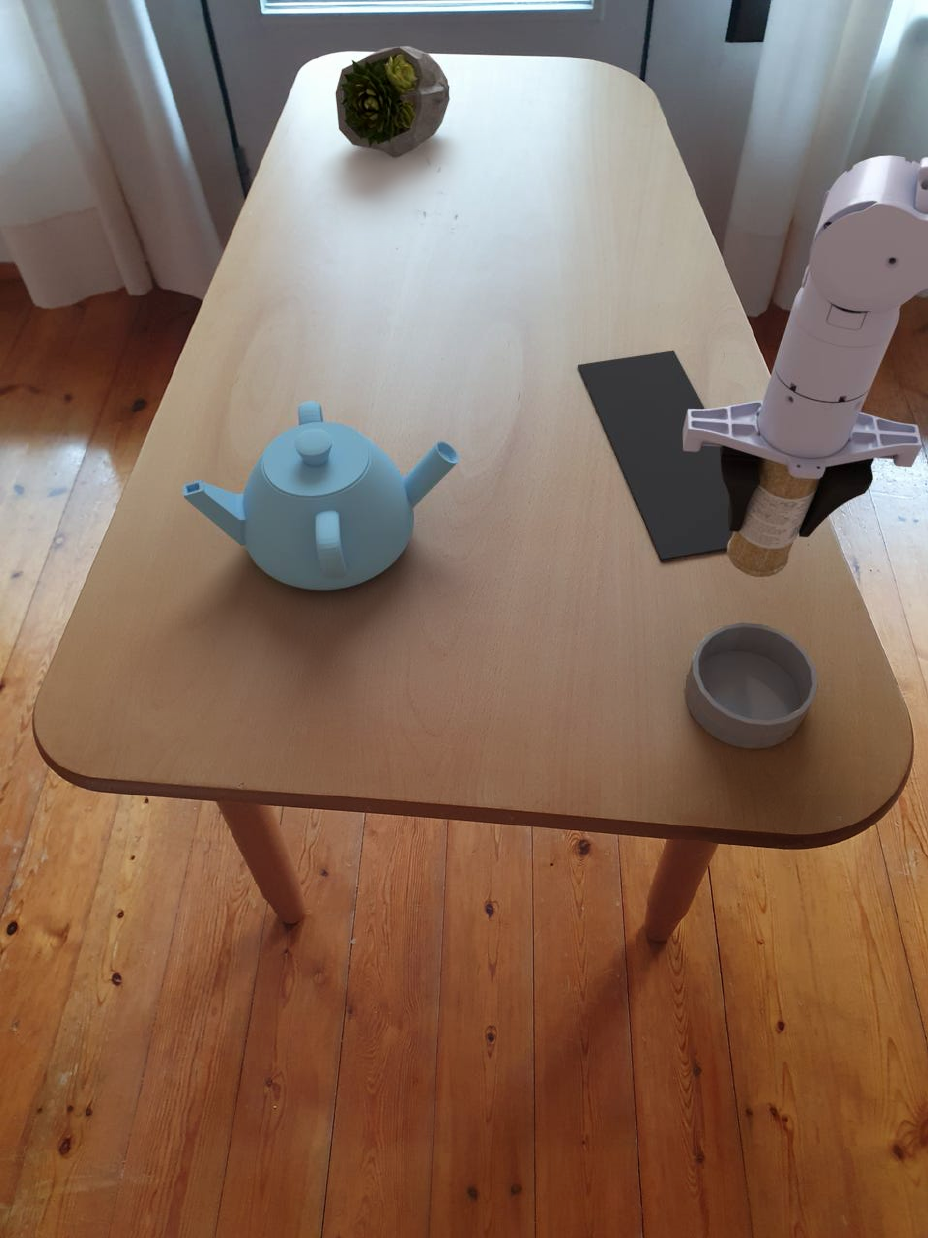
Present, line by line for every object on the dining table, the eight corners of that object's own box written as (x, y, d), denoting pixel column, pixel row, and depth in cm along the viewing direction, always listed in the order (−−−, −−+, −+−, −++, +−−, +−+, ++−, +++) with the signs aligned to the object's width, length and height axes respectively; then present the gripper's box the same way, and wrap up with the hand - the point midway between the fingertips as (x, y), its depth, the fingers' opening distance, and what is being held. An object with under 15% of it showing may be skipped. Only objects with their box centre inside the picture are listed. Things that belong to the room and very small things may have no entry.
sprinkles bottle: (752, 524, 72) (800, 385, 61) (799, 559, 70) (859, 422, 59) (712, 553, 71) (755, 416, 60) (759, 590, 68) (813, 455, 58)
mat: (773, 542, 80) (774, 539, 80) (661, 561, 79) (661, 559, 79) (673, 352, 95) (673, 350, 95) (577, 366, 94) (577, 364, 94)
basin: (799, 654, 73) (811, 628, 70) (809, 754, 68) (823, 730, 65) (684, 644, 74) (692, 617, 71) (686, 742, 69) (694, 718, 66)
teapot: (373, 641, 75) (357, 548, 66) (202, 563, 80) (165, 467, 71) (467, 515, 83) (464, 416, 74) (305, 451, 88) (283, 352, 79)
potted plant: (473, 104, 120) (435, 126, 109) (400, 165, 127) (358, 191, 116) (416, 13, 116) (371, 26, 105) (345, 82, 123) (295, 100, 112)
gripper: (703, 407, 55) (665, 558, 66) (961, 425, 54) (879, 575, 65) (699, 331, 59) (664, 485, 70) (939, 346, 58) (865, 500, 69)
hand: (767, 523), depth 68 cm, fingers closed on sprinkles bottle, 4 cm apart
